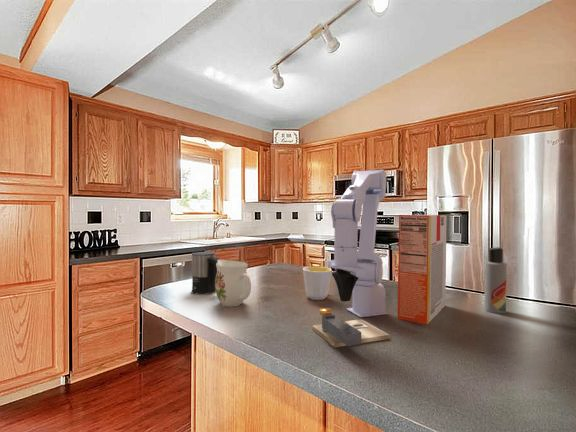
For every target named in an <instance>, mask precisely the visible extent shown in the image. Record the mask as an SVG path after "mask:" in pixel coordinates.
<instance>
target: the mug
mask: <svg viewBox="0 0 576 432" xmlns="http://www.w3.org/2000/svg"><path fill="white" fill-rule="evenodd" d="M332 269H333V268H330V267H327V266H305V267H302V275H303V280H304V288H305V294H306V296H307V297H308V299H310V300H314V301H316V300H317V301H322V300H324V299H326V298H327V296H328V295H329V289H330V283H331V277H332V272H333V270H332Z"/></svg>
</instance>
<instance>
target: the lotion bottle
mask: <svg viewBox="0 0 576 432" xmlns="http://www.w3.org/2000/svg"><path fill="white" fill-rule="evenodd" d="M483 300H484V301H483V302H484V305H483V307H484V310H485V311H486V312H489V313H492V312H493V313H492V314H505V313H506V311H507V263H505V262H504V249H503V248H502V247H489V248H488V261H486V262H484V299H483Z"/></svg>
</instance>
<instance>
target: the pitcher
mask: <svg viewBox="0 0 576 432" xmlns="http://www.w3.org/2000/svg"><path fill="white" fill-rule="evenodd" d="M216 267H217V274H216V278H215V290H216V291H215V294H216V296H217V300H218V301H219V303H220V304H221V306H223V305H224V307H236V305H238V306H240V304H241V305H242V304H243V302H244V301H245V300H248V298H249V297H250V295H251V291H252V290H251V289H252V281H251V278H250V276H249V275H248V273H247V269H248V263H247V262H245V261H244V262H243V261H237V260H229V259H220V260H217V263H216Z"/></svg>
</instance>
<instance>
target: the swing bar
mask: <svg viewBox="0 0 576 432" xmlns="http://www.w3.org/2000/svg"><path fill="white" fill-rule="evenodd" d="M332 311H333V310H332V309H331V308H329V307H321V308H320V309H319V315H320V316H322V315H324V317H321V324H322V328H323V329H324V330H326V331H327V332H329V333H330V334H331V335H333V336H334V337H335V338H337V339H338V340H340V341H341V342H342V343H344V344H345V345H346V346H345V347H350V346H355V345H356V346H357V345H362V343H361V332H360V331H359V330H357V329H355V328H354V327H352V326H350V325H349V324H347V323H346V322H344V320H343V319H340V318H339V317H337V316H336V315H335V314H334V313H332Z"/></svg>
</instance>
